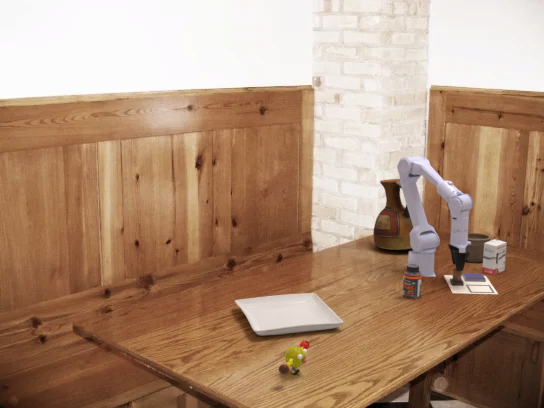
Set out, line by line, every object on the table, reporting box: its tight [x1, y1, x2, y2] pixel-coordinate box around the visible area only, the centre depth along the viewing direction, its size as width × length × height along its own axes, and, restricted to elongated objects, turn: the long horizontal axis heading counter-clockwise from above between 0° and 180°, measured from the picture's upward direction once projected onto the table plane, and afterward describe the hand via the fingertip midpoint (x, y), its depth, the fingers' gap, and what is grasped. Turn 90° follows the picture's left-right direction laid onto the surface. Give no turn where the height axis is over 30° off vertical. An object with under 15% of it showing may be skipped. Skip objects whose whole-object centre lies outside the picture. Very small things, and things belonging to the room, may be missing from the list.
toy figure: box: [278, 339, 310, 375], centre depth 172 cm, size 18×6×7 cm, turn 158°
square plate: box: [234, 292, 344, 336], centre depth 208 cm, size 27×27×4 cm
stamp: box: [450, 267, 464, 286], centre depth 238 cm, size 4×4×5 cm
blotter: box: [443, 274, 499, 295], centre depth 238 cm, size 15×20×1 cm
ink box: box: [481, 239, 507, 276], centre depth 251 cm, size 8×5×12 cm, turn 134°
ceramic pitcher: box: [372, 178, 422, 251], centre depth 283 cm, size 20×20×30 cm
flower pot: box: [465, 232, 492, 264], centre depth 268 cm, size 12×11×10 cm
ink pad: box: [462, 272, 486, 282], centre depth 243 cm, size 7×6×1 cm
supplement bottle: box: [402, 263, 423, 300], centre depth 225 cm, size 6×6×11 cm
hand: (457, 267), depth 237 cm, fingers open, 7 cm apart
